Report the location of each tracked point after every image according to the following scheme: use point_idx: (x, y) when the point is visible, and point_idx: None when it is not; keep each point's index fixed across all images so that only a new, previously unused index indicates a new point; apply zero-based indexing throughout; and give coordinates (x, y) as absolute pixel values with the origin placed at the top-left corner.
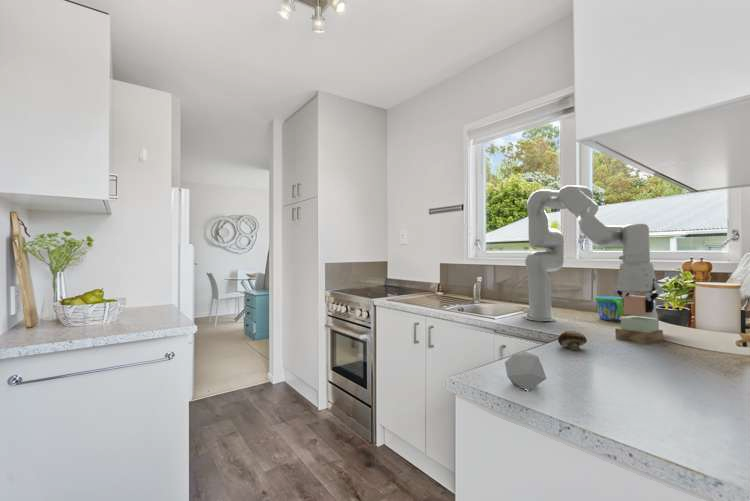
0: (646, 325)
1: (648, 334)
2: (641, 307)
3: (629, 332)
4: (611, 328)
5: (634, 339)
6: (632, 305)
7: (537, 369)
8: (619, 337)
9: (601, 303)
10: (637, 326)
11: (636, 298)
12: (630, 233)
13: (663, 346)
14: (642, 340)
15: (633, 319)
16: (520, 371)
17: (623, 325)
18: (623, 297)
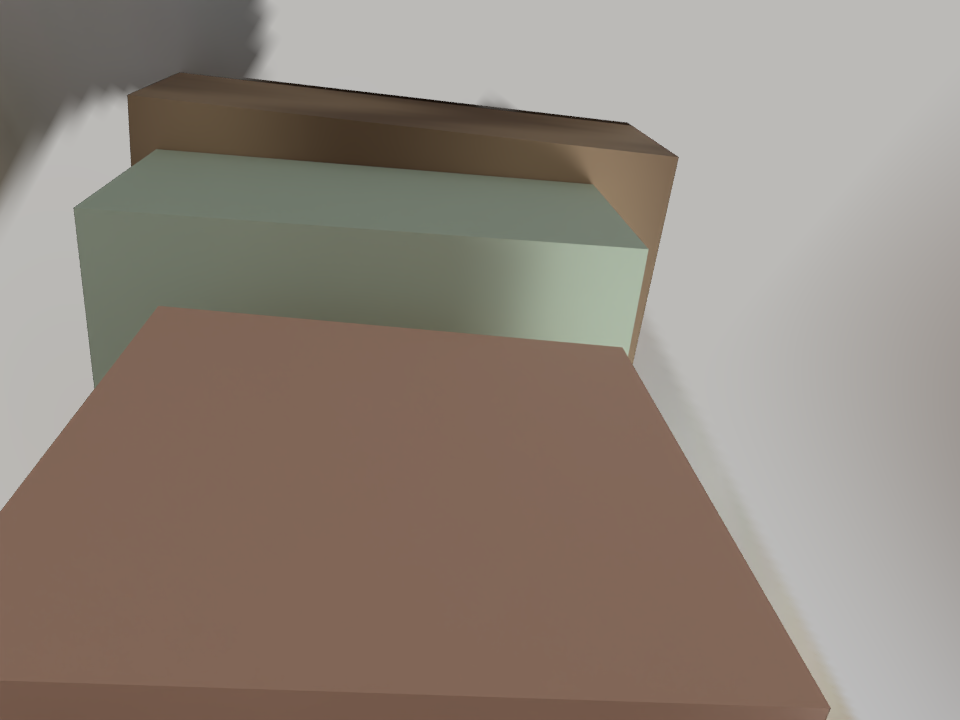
0: (135, 184)
1: (133, 104)
2: (134, 418)
3: (443, 128)
4: (825, 679)
5: (369, 99)
6: (418, 460)
7: None
8: (584, 123)
9: None
10: (313, 182)
11: (223, 652)
12: None
13: (6, 110)
14: (254, 90)
15: (380, 230)
16: None
17: (565, 198)
18: (802, 664)
